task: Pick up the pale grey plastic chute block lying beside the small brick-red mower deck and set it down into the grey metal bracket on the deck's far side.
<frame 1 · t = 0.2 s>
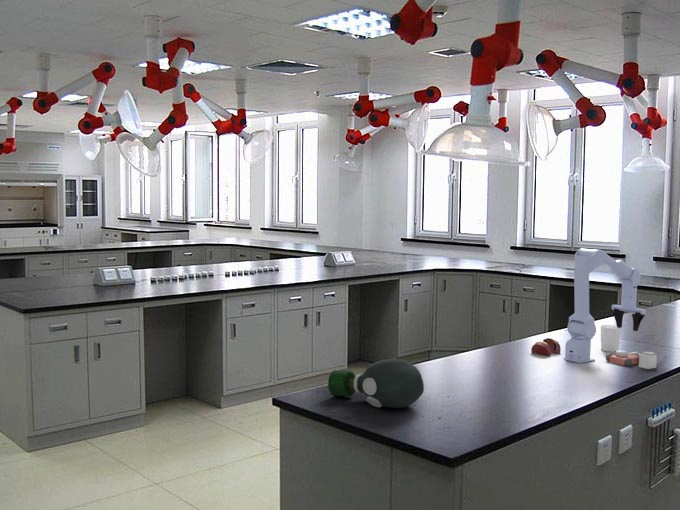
hand: (627, 329, 284), 10 cm above the countertop, tool pointing down, fingers open, 7 cm apart
gas mask: (377, 403, 213), on the countertop
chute: (647, 367, 261), on the countertop
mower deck: (625, 362, 268), on the countertop
white cup: (609, 350, 291), on the countertop
teeth model: (545, 354, 283), on the countertop
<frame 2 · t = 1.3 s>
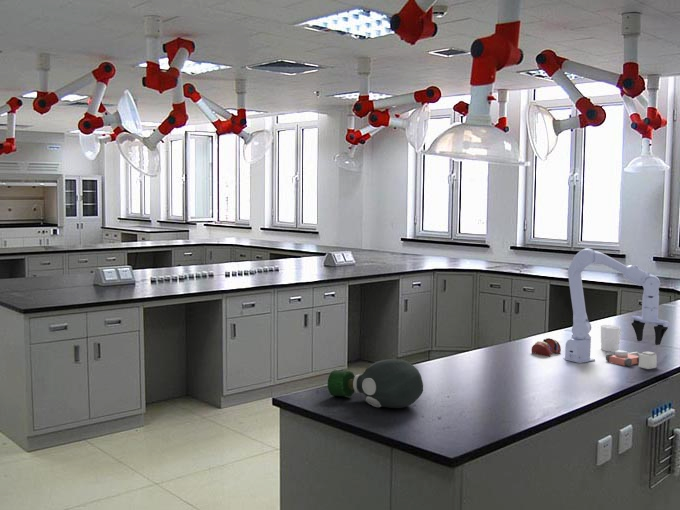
hand: (648, 342, 261), 9 cm above the countertop, tool pointing down, fingers open, 7 cm apart
nothing on the countertop moved.
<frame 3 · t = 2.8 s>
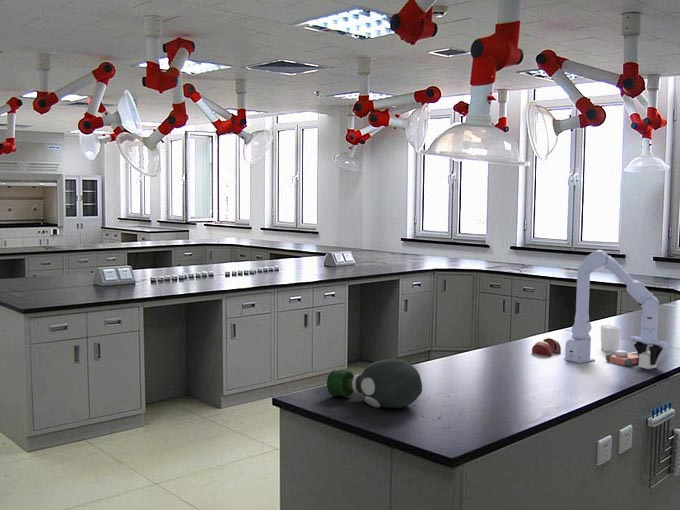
hand: (647, 363, 261), 1 cm above the countertop, tool pointing down, fingers closed on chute, 4 cm apart
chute: (647, 367, 261), on the countertop, touching gripper
everything else where it was.
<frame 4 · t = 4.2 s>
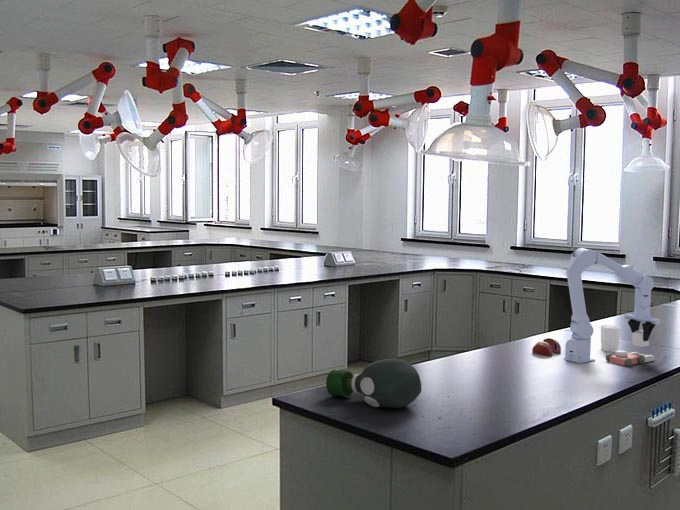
hand: (640, 339, 271), 8 cm above the countertop, tool pointing down, fingers closed on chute, 4 cm apart
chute: (640, 345, 271), point 6 cm above the countertop, touching gripper
everything else where it was.
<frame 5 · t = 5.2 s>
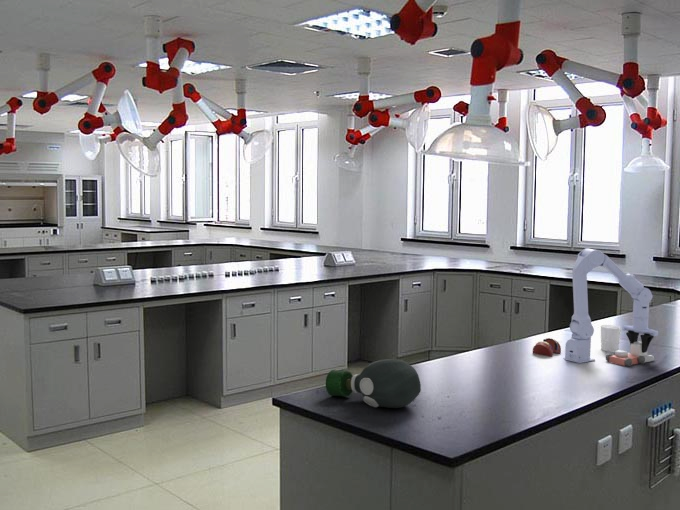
hand: (639, 351, 273), 4 cm above the countertop, tool pointing down, fingers closed on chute, 4 cm apart
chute: (638, 356, 273), point 1 cm above the countertop, touching gripper
everything else where it was.
when the fingers open (3 cm above the countertop, at t = 5.7 s): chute stays where it is, resting in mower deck.
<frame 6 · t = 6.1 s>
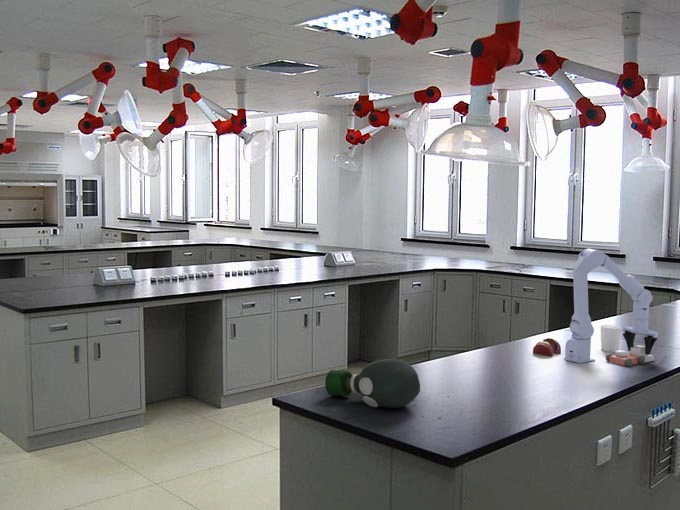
hand: (639, 352, 273), 3 cm above the countertop, tool pointing down, fingers open, 7 cm apart
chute: (638, 360, 273), resting in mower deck
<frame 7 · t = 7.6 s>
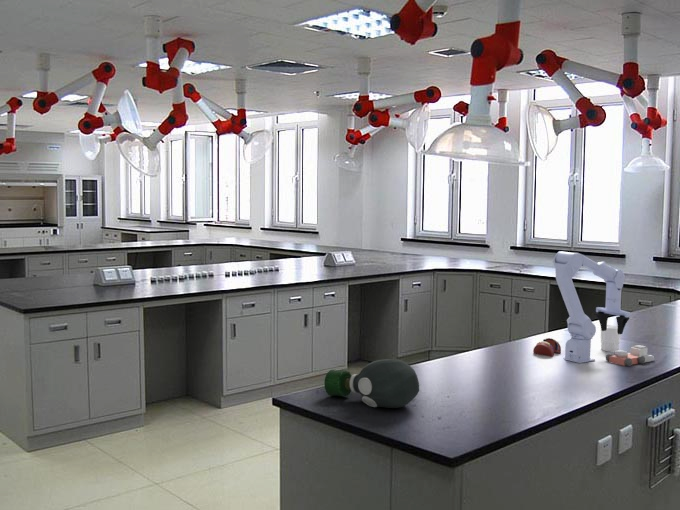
hand: (611, 332, 278), 10 cm above the countertop, tool pointing down, fingers open, 7 cm apart
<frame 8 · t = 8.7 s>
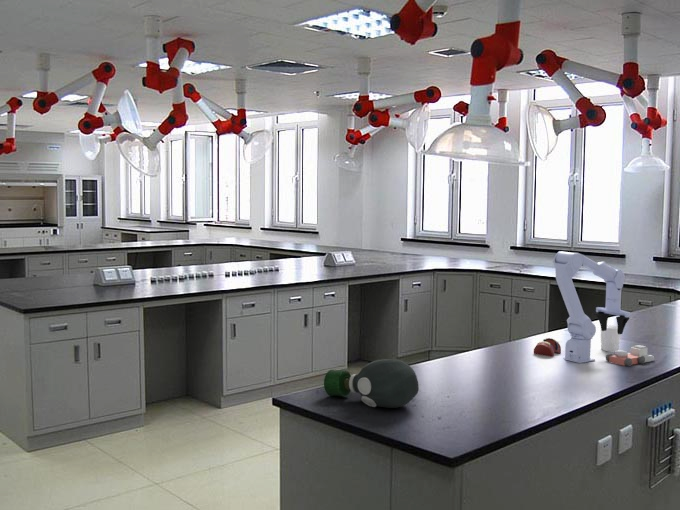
hand: (611, 332, 278), 10 cm above the countertop, tool pointing down, fingers open, 7 cm apart
at the end: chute 0.4 cm from the target spot, resting in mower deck; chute tilted 0°; the gripper is holding nothing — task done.
